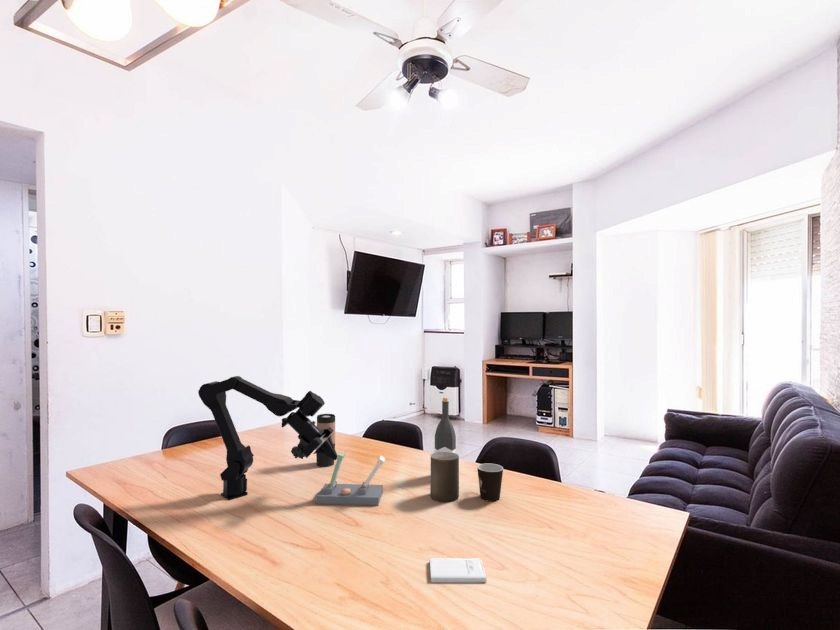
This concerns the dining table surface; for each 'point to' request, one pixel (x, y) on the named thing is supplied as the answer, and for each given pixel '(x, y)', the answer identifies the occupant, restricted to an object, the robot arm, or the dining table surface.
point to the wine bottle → (445, 431)
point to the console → (350, 494)
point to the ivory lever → (373, 472)
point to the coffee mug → (490, 481)
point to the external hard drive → (457, 570)
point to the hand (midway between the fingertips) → (336, 459)
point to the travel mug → (322, 423)
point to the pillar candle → (444, 476)
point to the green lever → (336, 470)
